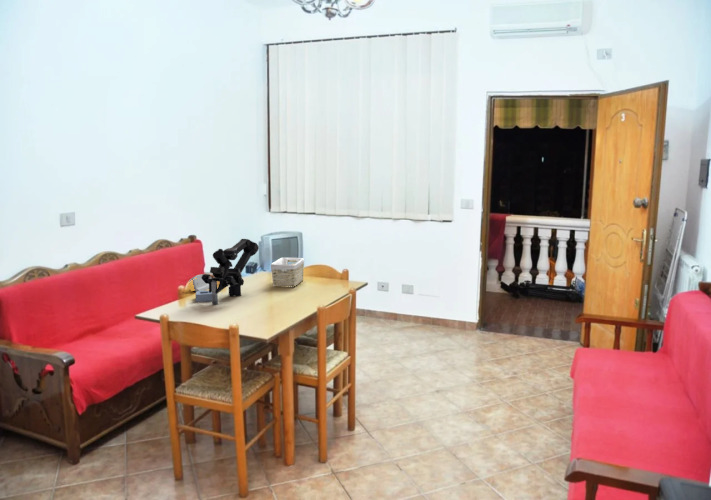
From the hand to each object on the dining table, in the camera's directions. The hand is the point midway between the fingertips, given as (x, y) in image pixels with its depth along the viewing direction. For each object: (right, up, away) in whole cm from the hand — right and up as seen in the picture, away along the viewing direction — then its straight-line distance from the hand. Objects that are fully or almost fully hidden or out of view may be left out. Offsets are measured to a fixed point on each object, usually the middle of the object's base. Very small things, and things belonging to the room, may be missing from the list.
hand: (213, 293), depth 298 cm
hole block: (-8, -5, +13) cm, 16 cm away
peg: (0, -6, +2) cm, 7 cm away
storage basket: (+34, +2, +53) cm, 63 cm away
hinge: (-17, -1, +37) cm, 41 cm away
